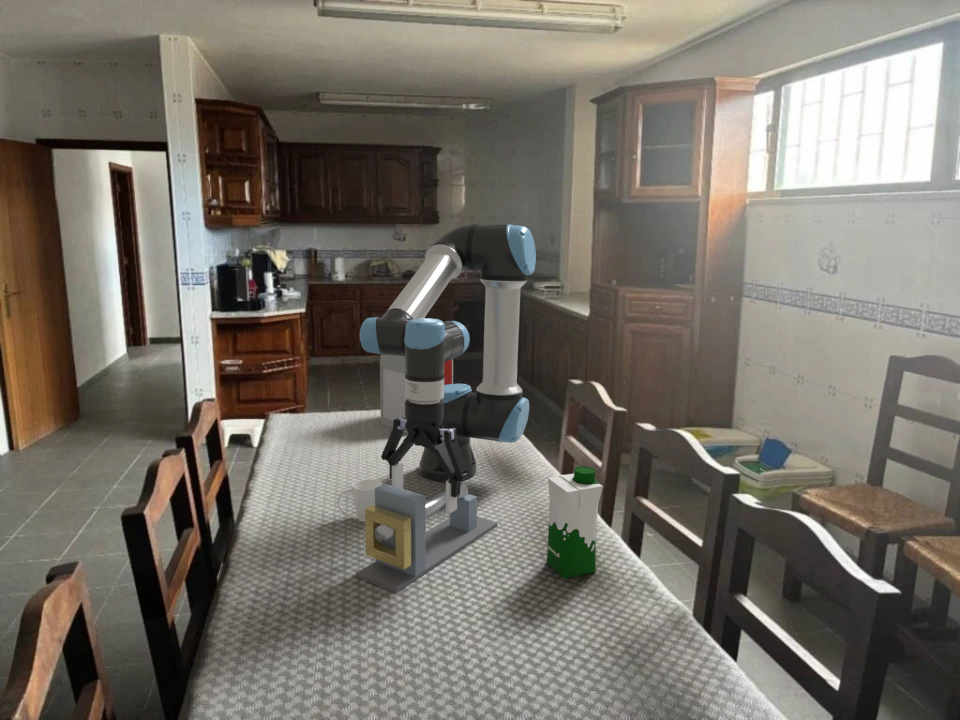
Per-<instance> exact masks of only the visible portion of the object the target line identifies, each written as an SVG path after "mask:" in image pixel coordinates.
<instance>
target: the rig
mask: <svg viewBox="0 0 960 720" xmlns="http://www.w3.org/2000/svg"><path fill="white" fill-rule="evenodd" d="M426 501H427V500H426V495H424V494H421V493H417V492H413V491H410V490H408V489H404V488H403V489H401V488H398V487H395V486H392V484H388V483H384V484H383V485H381V486H379V487H377V488H375V506H376V507H379V508H382V509H385V510H388V511H391V512H395V513H398V514H401V515H404V516H407V517H410V518H411V566H409V567H407V568H406V569H401V568H399V567H396V566H393V565H391V564H388V563H386V562H383V561H380V560H378V559H375V561H374V562H371V564H368V565H367V566H365V567H364V568H361V569H360V570H359V571H357V572H355V577H356V578H359V579H361V580H364V581H366V582H368V583H370V584H372V585H376V586H378V587H381V588H383V589H386V590H388V591H391V592H392V593H395V594H397V593H399V592H401V591H402V590H403V589H405V588H407V587H408V586H410V585H411V584H413V583H415V582H416V581H417V580H419V579H420V578H422V577H423V576H424V575H426V574H428V573H429V572H430V571H432V570H433V569H435V568H437V567H438V566H440V565H441V564H442V563H444V562H446V561H447V560H448V559H450V558H451V557H453V556H455V555H456V554H458V553H460V551H462V550H464V549H465V548H467V547H468V546H470V545H471V544H472V543H474V542H476V541H477V540H479V539H481V538H482V537H483V536H485V535H487V534H488V533H489V532H491V531H492V530H494V529H495V528H497V527H498V522H496V521H494V520H489V519H486V518H483V517H479V516H478V496H476V495H473V494H469V493H468V494H467V496H465V497H463V498H462V499H460V500H458V501H457V510H455V511H453V512H452V513H450V514H449V518H447V519H445V520H443V521H442V522H440V523H438V524H436V525H435V526H433V527H431V528H430V529H428V530H426V526H427V524H426V523H427V521H426V519H427V518H426ZM380 525H382V524H380ZM381 545H384V546H387V547H390V548H392V549H395V550H396V536H394V537H392V538H390V539H389V540H387V541H385V542H381Z"/></svg>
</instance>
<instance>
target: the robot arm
mask: <svg viewBox="0 0 960 720" xmlns="http://www.w3.org/2000/svg"><path fill="white" fill-rule="evenodd" d="M531 232H532V231H530V229H528V227H526V226H524V225H518V224H515V225H514V224H484V223H483V224H479V223H468V224H462V225H460V226H457V227H454V228H452V229H451V230H449V231H447V232H445V233H444V234H443V235H441V236H440V237H438V238H437V239H436V240H435V241H434V242H433V243H432V244H431V245H430V247H429V248H428V249H427V251H426V252H425V255H424V261H423V263H422V264H421V265H420V267H419V268H418V269H417V271H416V272H415V274H414V275H413V276H412V277H411V278H410V280H409V281H408V282H407V284H406V285H405V287H404V288H403V289H402V290H401V292H400V293H399V294H398V296H397V297H396V298H395V300H394V301H393V302H392V304H391V305H390V306H389V307H388V309H387V310H386V311H385V313H384V314H383V315H382V317H379V316H375V317H367V318H365V320H364V321H362V324H361V327H360V330H359V341H360V344H361V345H360V346H361V347H362V349H363V350H364V351H365V352H367V353H372V354H378V355H380V356H381V355H395V356H405V397H406V398H407V400H406V401H405V417H400V418H397V419H394V421H393V428H392V429H391V432H390V435H389V437H388V439H387V442H386V444H385V446H384V448H383V451H382V453H381V455H380V457H381V459H382V460H383V461H385V460H386V462H387V463H388V467H389V479H390V480H391V486H395V487H398V488H401V489H404V463H403V462H402V460H403V458H404V457H405V455H406V454H407V453H408V452H409V451H410V450H411V448H412V447H413V446H416V447H419V446H420V447H422V448H423V452H422V455H421V458H420V461H419V465H418V468H419V470H418V472H419V474H420V476H422V477H423V478H425V479H428V480H432V481H437V482H445V491H446V508H445V514H448V515H450V513H452V512H453V511H455V510H457V496H459V495H460V483H462V481H464V480H467V479H470V478H472V477H473V476H474V475H476V474H477V461H476V458H475V455H474V452H473V449H472V446H471V439H476V440H477V439H478V440H484V441H485V440H487V441H492V442H498V443H517V441H519V440H520V439H521V437H522V436H523V434H524V432H525V429H526V426H527V423H528V419H529V413H530V401H529V399H528V398H526V397H523V389H522V388H521V386H520V385H519V384H518V382H517V381H518V380H517V377H518V356H519V355H518V354H519V353H518V352H519V331H520V312H521V311H520V310H521V289H522V287H523V286H524V285H525V284H526V283H527V282H528V276H530V275H533V273H534V272H535V269H536V263H537V253H536V252H537V251H536V244H535V240H534V237H533V234H532V233H531ZM464 272H474V273H479V281H480V282H481V284H483V285H484V287H485V297H484V298H485V299H484V304H485V305H484V330H483V331H484V332H483V359H482V360H483V362H482V382H481V383H480V384H479V385H478V386H476V389H475V390H476V392H472V388H471V385H469V384H466V383H453V384H449V385H444V362H446V361H449V360H451V359H457V358H459V357H460V356H461V355H462V354H464V353H465V352H466V350H467V349H468V348H469V346H470V342H471V341H470V339H471V338H470V333H469V331H468V329H467V328H466V326H465V325H464V324H462V323H461V322H459V321H456V320H451V321H449V320H446V321H443V320H441V319H438V318H431V317H429V318H427V317H426V316H427V315H428V313H429V312H430V310H431V309H432V308H433V306H434V305H435V303H436V301H438V299H439V297H440V296H441V295H442V293H443V291H444V290H445V289H446V288H447V286H448V285H449V282H451V280H454V279H456V278H458V277H459V275H460V274H461V273H464ZM406 419H407V420H406ZM405 428H406V430H407V432H406V433H408V434H407V435H406V436H405V437H404V439H403V440H402V443H401V444H400V445H399V443H400V442H401V439H402V437H403V435H404V433H405V432H404V430H405Z"/></svg>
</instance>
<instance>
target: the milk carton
mask: <svg viewBox="0 0 960 720" xmlns="http://www.w3.org/2000/svg"><path fill="white" fill-rule="evenodd" d="M547 480H548V481H547V483H548V496H549V498H548V499H549V503H548V504H549V506H548V507H549V508H548V509H549V510H548V536H547V538H548V539H547V553H546V563H547V564H548V565H549V566H550V567H551V568H553V570H554V571H555V572H556V573H557V574H558V575H560V576H561V578H563V579H564V580H565V579H570V578H574V577H579V576H583V575H588V574H593V573H596V572H597V571H596V570H597V569H596V566H597V563H596V562H597V561H596V560H597V557H596V556H597V553H596V552H597V551H596V550H597V545H596V544H597V531H598V530H597V529H598V528H597V527H598V516H599V515H598V513H599V512H598V511H599V502H600V499H601V495H602V491H603V488H604V486H603V485H602V484H601V483H600V482H598V481H597V480H596V469H594V468H593V467H590V466H587V465H586V466H584V465H583V466H576V467H575V468H574V470H573V473H568V474H559V475H557V476H553V477H547Z"/></svg>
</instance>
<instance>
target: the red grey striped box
mask: <svg viewBox="0 0 960 720" xmlns="http://www.w3.org/2000/svg"><path fill="white" fill-rule="evenodd" d="M379 360H380V361H379V377H380V378H379V381H380V382H379V384H380V385H379V386H380V388H379V389H380V390H379V391H380V392H379V393H380V425H383V426H384V427H385V426H386V427H388V428H392V429H393V421H394V419H397V418H400V417H405V401H406V400H407V398H406V397H405V356H395V355H380V359H379ZM449 384H454V360H453V359H451V360H449V361H446V362H444V385H449ZM406 420H407V419H406ZM404 433H408V432H407V430H406V428H405V430H404Z"/></svg>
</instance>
